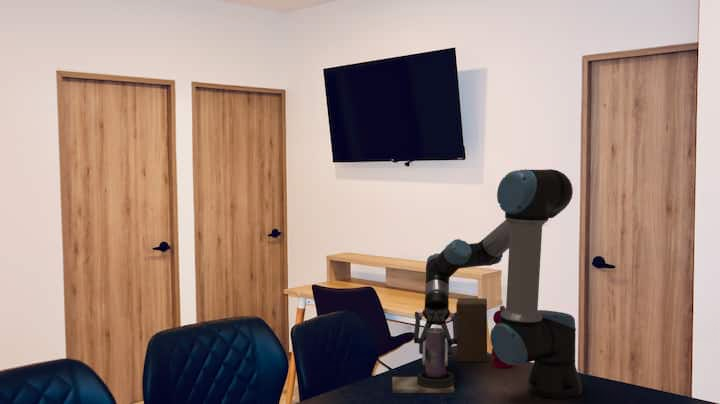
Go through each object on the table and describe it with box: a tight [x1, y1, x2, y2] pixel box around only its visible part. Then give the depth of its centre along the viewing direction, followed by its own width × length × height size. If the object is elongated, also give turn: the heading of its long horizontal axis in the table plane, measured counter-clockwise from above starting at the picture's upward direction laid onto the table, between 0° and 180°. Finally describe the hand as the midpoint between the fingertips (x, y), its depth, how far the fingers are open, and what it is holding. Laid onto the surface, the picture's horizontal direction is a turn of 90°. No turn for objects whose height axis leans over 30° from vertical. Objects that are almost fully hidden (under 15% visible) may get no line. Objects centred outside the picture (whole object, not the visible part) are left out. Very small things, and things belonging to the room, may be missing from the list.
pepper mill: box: [491, 305, 513, 369], centre depth 223 cm, size 7×7×20 cm
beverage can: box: [425, 327, 447, 379], centre depth 203 cm, size 6×6×15 cm
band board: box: [391, 370, 455, 394], centre depth 203 cm, size 18×12×3 cm, turn 88°
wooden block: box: [455, 297, 488, 363], centre depth 232 cm, size 10×10×20 cm
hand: (435, 363), depth 199 cm, fingers closed on beverage can, 6 cm apart
